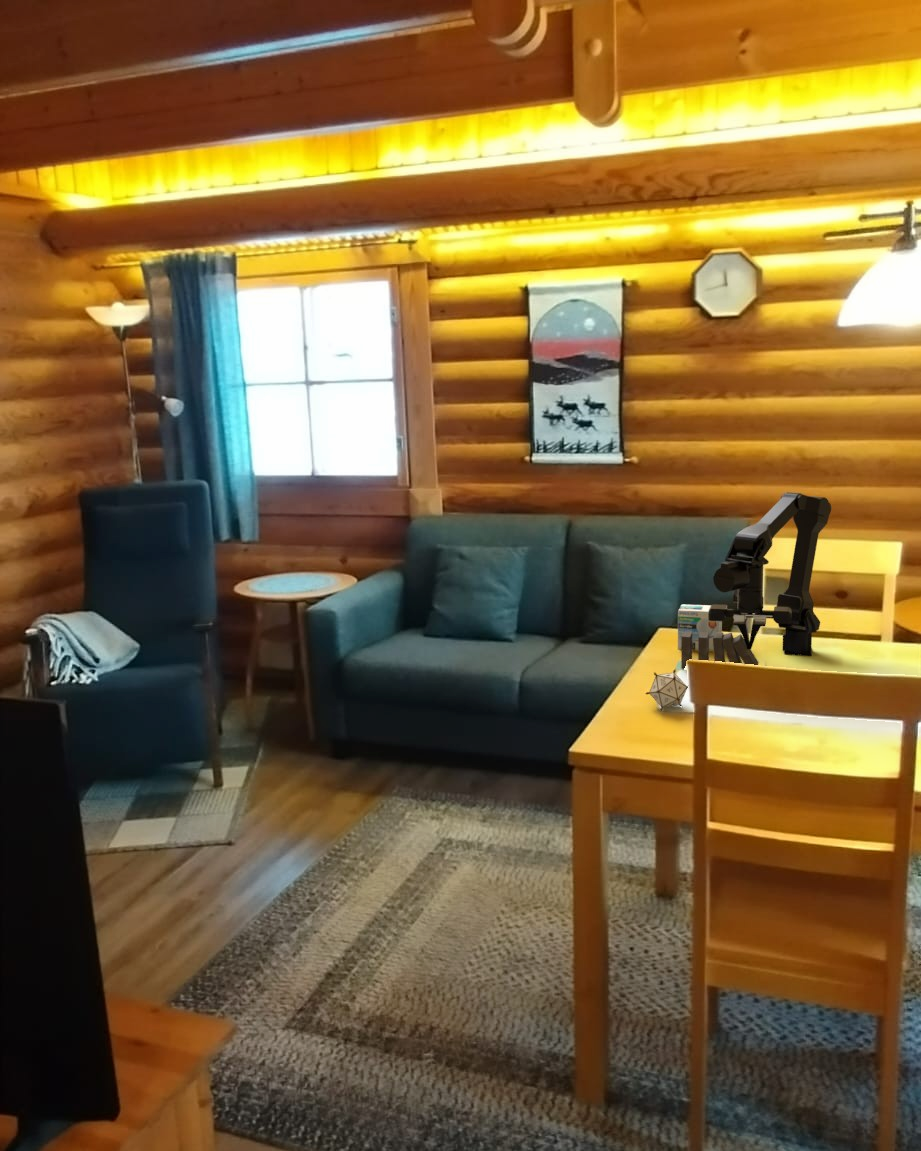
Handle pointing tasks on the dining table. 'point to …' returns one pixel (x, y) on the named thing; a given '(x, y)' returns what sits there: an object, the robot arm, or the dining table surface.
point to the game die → (668, 690)
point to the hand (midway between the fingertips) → (749, 648)
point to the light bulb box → (697, 624)
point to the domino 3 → (718, 647)
